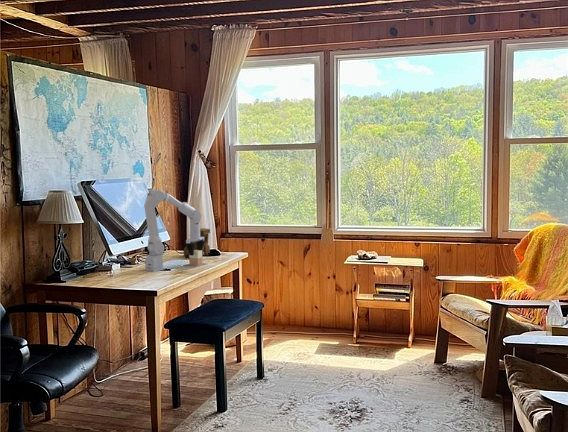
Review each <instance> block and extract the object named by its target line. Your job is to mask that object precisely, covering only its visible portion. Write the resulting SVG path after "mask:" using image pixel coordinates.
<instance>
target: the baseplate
mask: <svg viewBox="0 0 568 432" xmlns="http://www.w3.org/2000/svg"><path fill="white" fill-rule="evenodd" d="M188 258H189V257H188ZM188 261H189V262H188V263H187V264H186V263H185V264H182V265H183V266H181V265H179V266H180V267H178V266H174V267H175V268H174V267H170V269H173V270H180V271H181V270H182V271H183V270H184V271H188V270H191V269H192V270H193V269H195V268H199V267H203V266H207V265H208V263H203V257H202V258H189V259H188Z"/></svg>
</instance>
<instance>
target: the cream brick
mask: <svg viewBox="0 0 568 432" xmlns="http://www.w3.org/2000/svg"><path fill="white" fill-rule="evenodd" d="M188 258H202V259H203V256H202V250H194V255H193V256H191V255H190V254H189V257H188Z"/></svg>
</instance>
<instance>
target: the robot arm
mask: <svg viewBox="0 0 568 432" xmlns="http://www.w3.org/2000/svg"><path fill="white" fill-rule="evenodd" d="M162 202H168V203H169V204H171V205H173V206H175V207H177V209H178V211H179V212H180V213H182V214H183V215H185V216H186V217H188V219H189V238H187V239H186V240H185V243H184V244H185V247H186V246H187V248H188V251H189V254H190V255H191V256H193V255H194V246H195V244H193V243H192V242H196V245H197V250H202V249H203V246H204V244H205V241H203V240H204V237H200V228H201V218H202V216H203V214H202V212H201V211H200V210H199V209H195V206H191V205H190V204H189V203H188V202H187V201H183V202H182V201H180V200H178V199H176V197H174V196H173V195H171V194H170V193H168V192H166V191H164V190H163V189H154V188H153V189H151V190H150V191H149V192H148V193H147V194H146V199H145V202H144V204H143V205H144V206H143V207H144V213H145V218H146V219H145V220H146V225H147V231H148V239H147V246H146V247H147V248H146V249H147V250H148V252H149V253H148V256H146V257H145V259H144V261H145V266H144V267H145V271H148V272H159V271H163V270H166V269H167V268H166V267H164V257H163V256H164V255H163V254H164V253H163V252H165V245H164V244H163V242H162V238H161V237H160V234H159V232H160V231H159V227H158V226H159V225H158V221H157V215H156V209H155V208H156V207H157V206H158V205H159V204H161V203H162Z"/></svg>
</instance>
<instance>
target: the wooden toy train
mask: <svg viewBox="0 0 568 432" xmlns="http://www.w3.org/2000/svg"><path fill="white" fill-rule="evenodd" d="M210 233H211V229H210V228H205V227H204V228H202V227H200V237H204V240H203V241H205V244H204V246H203V249H202V257H203V256H204V255H205V256H209V254H210V252H211V247H210V245H209V235H210ZM192 243H193V244H195V246H194V250H197V245H196V242H192ZM208 253H209V254H208ZM183 256H184V257H185V258H189V251H188V248H187V246H186V245H185V247H184V248H183Z"/></svg>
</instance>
